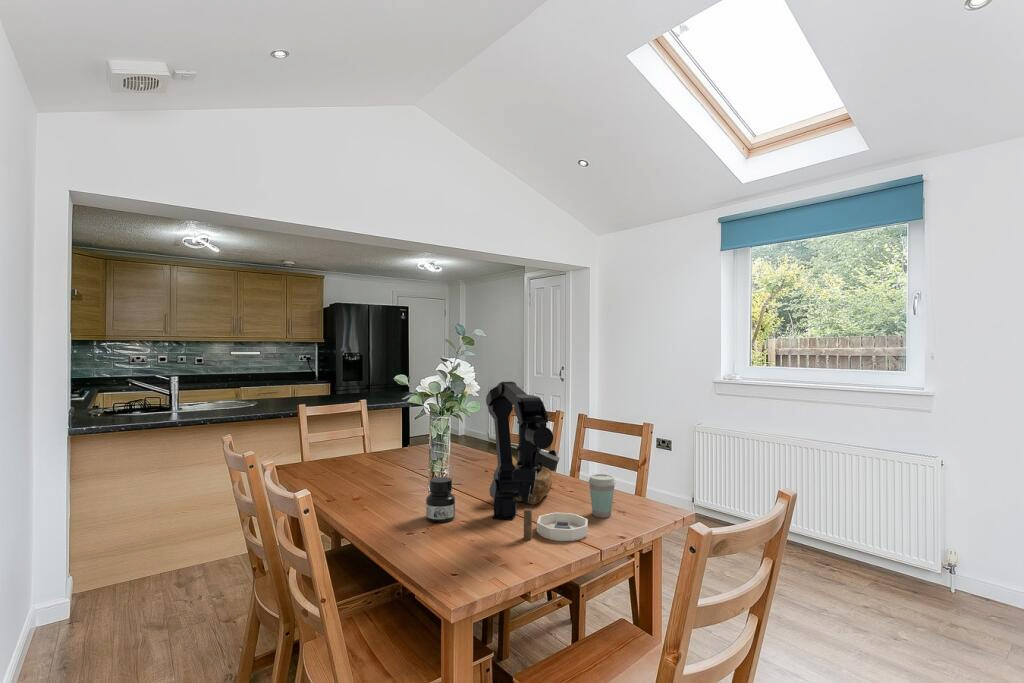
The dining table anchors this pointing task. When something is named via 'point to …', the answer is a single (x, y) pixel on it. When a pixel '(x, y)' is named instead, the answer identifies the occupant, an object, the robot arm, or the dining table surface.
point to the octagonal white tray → (562, 526)
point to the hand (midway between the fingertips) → (528, 498)
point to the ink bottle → (440, 500)
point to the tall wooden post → (527, 524)
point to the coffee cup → (601, 494)
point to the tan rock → (538, 485)
